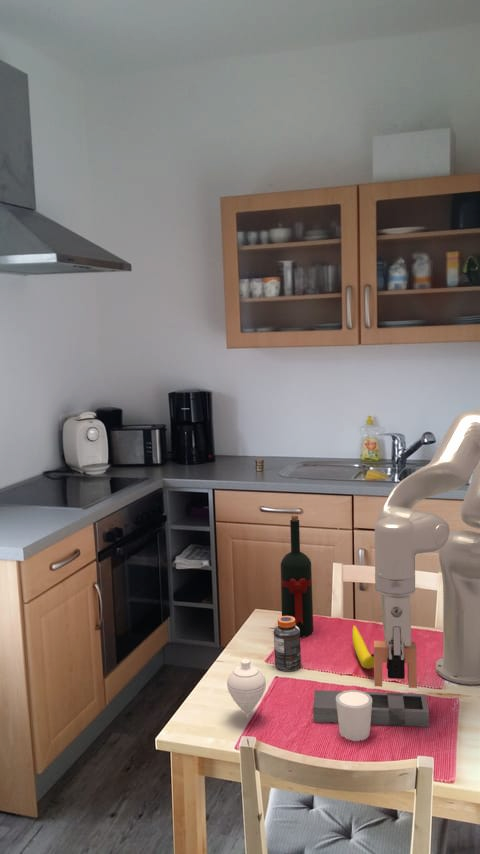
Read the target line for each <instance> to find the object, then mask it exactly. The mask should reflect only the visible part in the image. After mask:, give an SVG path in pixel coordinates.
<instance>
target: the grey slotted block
mask: <svg viewBox="0 0 480 854" xmlns="http://www.w3.org/2000/svg"><path fill="white" fill-rule="evenodd" d="M343 691H344V690H342V691H341V690H325V689H321V690H320V689H319V690H318V689H315V690H314V695H313V704H312V705H313V706H312V718H313V720H312V721H313V723H325V722H328V723H330V722H333V723H332V724H339V722H338V713H337V705H336V696H337V695H338V694H339V693H341V692H343ZM364 692H365V693H367V694H369V695H370V696H371V697H372V711H371V723H370V726H375V725H376V726H394V727H395V726H398V727H399V726H400V727H417V728H420V727H421V728H429V727H430V710H429V705H428V699H427V694H426V693H425V694H424V693H400V692H399V693H398V692H397V693H396V692H376V691H375V692H373V691H371V692H370V691H364ZM335 722H336V723H335ZM330 724H331V723H330Z"/></svg>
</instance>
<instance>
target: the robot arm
mask: <svg viewBox="0 0 480 854" xmlns="http://www.w3.org/2000/svg"><path fill="white" fill-rule="evenodd" d="M469 481H470V483H469ZM468 483H469V485H468V488H467V491H466V494H465V496H464V499H463V502H462V505H461V510H460V517H461V520H462V522H463V524H465V525H467V526H469V527H470V528H473V529H478V530H480V408H477V409H475V410H474V411H472V410H471V411H463V412H461V413H459V414H458V415H456V416H455V417H454V419H453V421H452V422H451V424H450V426H449V427H448V429H447V431H446V433H445V435H444V436H443V438H442V440H441V442H440V443H439V446H438V447H437V449H436V451H435V453H434V454H433V457H432V459H431V460H430V462H429V463H428V464H425V465H424V466H423V467H421V468H419V469H417V470H415V471H414V472H412V473H411V474H409V475H408V476H406V477H405V478H403V479H402V480H401V481H400V482H398V483H397V484H396V485H395V486H394V487H393V488H392V489H391V491H390V493H389V495H388V497H387V498H386V500H385V502H384V504H383V505H382V508H381V509H380V512H379V514H378V517H377V520H376V523H375V525H374V572H375V573H374V575H375V576H374V583H375V585H374V589H375V590H374V591H375V592H376V593H377V594H379V595H381V612H382V613H381V617H382V628H383V636H384V641H385V643H386V645H387V646H389V658H387V662H386V669H387V678H388V679H392V680H393V679H395V680H403V679H404V680H405V676H406V672H405V670H406V668H405V667H406V666H405V664H406V663H405V658H404V645H403V642H404V644H405V646H408V647H410V646H411V642H412V619H411V618H412V613H411V612H412V611H411V610H412V608H411V607H412V606H411V595H414V594H415V592H416V556H417V555H419V554H426V553H434V552H437V551H438V560H439V565H440V571H441V575H442V576H441V577H442V595H443V597H442V599H443V600H442V601H443V602H442V604H443V605H442V606H443V607H442V609H443V611H442V612H443V613H442V614H443V615H442V619H443V620H442V622H443V625H442V627H443V628H442V631H443V632H442V634H443V635H442V640H443V641H442V643H443V644H442V646H443V647H442V649H443V650H442V651H443V652H442V655H443V656H442V657H440V658H439V659H438V660H437V661H436V662H435V671H436V672H437V674H438V675H439V676H440V677H442V678H443V679H445V680H447V681H450V682H453V683H456V684H460V685H461V684H462V685H470V686H471V685H472V686H473V685H480V532H475V531H472V530H471V531H470V530H462V529H456V530H451V529H450V526H449V524H448V522H447V520H446V519H445V518H444V517H442V516H441V515H438V514H437V513H432V512H429V511H422V510H418V509H413V508H414V507H415V506H416V505H417V504H419V503H420V502H421V501H423V500H424V499H427V498H430V497H433V496H436V495H441V494H445V493H449V492H453V491H456V490H459V489H461V488H464V487H466V486H467V484H468ZM391 641H393V643H392V642H391ZM400 641H401V643H400ZM392 647H394V649H393V650H392Z"/></svg>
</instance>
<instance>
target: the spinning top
mask: <svg viewBox="0 0 480 854" xmlns="http://www.w3.org/2000/svg"><path fill="white" fill-rule="evenodd" d="M226 686H227V687H226V688H227V690H228V693H229V694H230V697H231V698H232V699H233V701H234V702H235V704H236V705H237V706H238V707H239V708H240V709H241V710H242V711H243V713H244V714H245V715H246V718H247V719H249V718H250V717H249V716H250V713H252V711H254V709H255V708H256V706H257V705H258V703H259V702H260V701H261V699H262V697H263V695H264V693H265V690H266V686H267V680H266V676H265V675H264V673H263V672H262V671H261V670H260V669H259V668H258V667H257V666H255V665H252V664H251V659H248V658H244V659H241V660H240V665H238V666H236V667H234V669H233V670H232V671H231V672H230V674H229V675H228V677H227V681H226Z"/></svg>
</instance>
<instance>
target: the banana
mask: <svg viewBox="0 0 480 854" xmlns="http://www.w3.org/2000/svg"><path fill="white" fill-rule="evenodd" d="M351 631H352V635H351V636H352V637H351V638H352V644H353V648H354V650H355V654H356V656H357V658H358V661H359V663H360V665H361V667H362V668H364V669H367V670H370V669H373V668H374V653H372V654H371V653H370V652H369V650H368V647H367V645H366V643H365V642H364V639H363V637H362V635H361V633H360V631H359V630H358V628H357V626H356V625H355V624H354V625H353V627H352V630H351Z"/></svg>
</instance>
